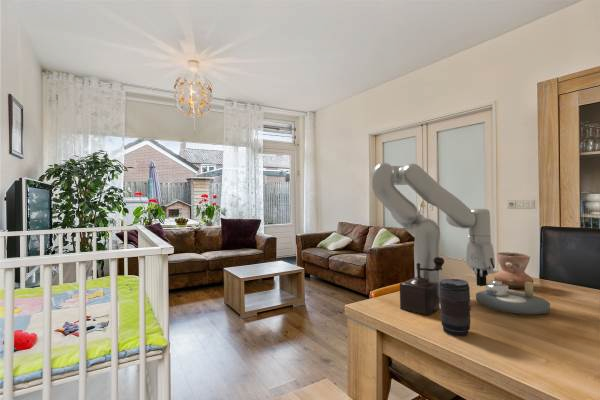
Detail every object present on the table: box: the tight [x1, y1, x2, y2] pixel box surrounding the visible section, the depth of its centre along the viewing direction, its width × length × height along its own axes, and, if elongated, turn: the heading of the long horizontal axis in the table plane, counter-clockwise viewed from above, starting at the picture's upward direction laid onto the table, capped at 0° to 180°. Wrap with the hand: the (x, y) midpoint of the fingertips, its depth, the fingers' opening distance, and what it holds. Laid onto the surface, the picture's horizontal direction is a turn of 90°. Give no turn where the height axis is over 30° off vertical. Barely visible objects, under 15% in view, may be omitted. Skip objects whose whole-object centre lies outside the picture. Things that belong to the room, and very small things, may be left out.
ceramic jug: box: [493, 251, 534, 289], centre depth 139 cm, size 18×14×14 cm
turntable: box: [475, 282, 551, 315], centre depth 112 cm, size 22×22×6 cm
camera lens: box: [439, 278, 472, 338], centre depth 92 cm, size 8×8×15 cm
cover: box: [485, 280, 510, 297], centre depth 117 cm, size 7×7×5 cm
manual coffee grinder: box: [399, 256, 445, 317], centre depth 114 cm, size 16×11×18 cm
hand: (481, 285), depth 124 cm, fingers closed
